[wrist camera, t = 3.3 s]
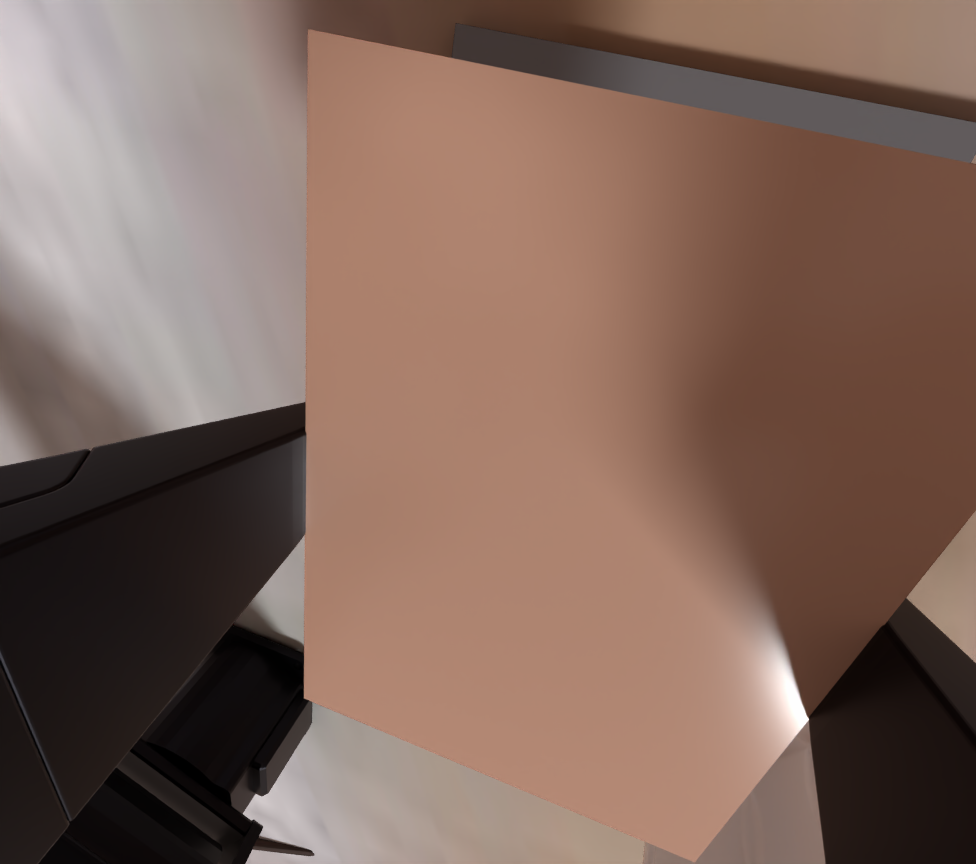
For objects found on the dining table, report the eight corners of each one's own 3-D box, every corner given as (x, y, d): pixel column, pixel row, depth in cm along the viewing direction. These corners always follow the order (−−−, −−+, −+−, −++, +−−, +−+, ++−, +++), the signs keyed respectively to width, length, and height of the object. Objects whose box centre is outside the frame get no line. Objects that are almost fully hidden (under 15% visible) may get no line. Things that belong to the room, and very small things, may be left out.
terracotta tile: (368, 599, 12) (304, 698, 10) (418, 52, 7) (307, 28, 5) (694, 723, 11) (694, 862, 9) (1034, 176, 6) (1213, 211, 4)
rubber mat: (412, 429, 21) (407, 434, 20) (461, 25, 14) (455, 23, 14) (754, 539, 19) (755, 546, 18) (983, 125, 12) (991, 125, 12)
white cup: (703, 590, 20) (712, 927, 12) (934, 684, 19) (1118, 1122, 11) (621, 714, 24) (584, 1028, 16) (806, 796, 24) (870, 1175, 15)
